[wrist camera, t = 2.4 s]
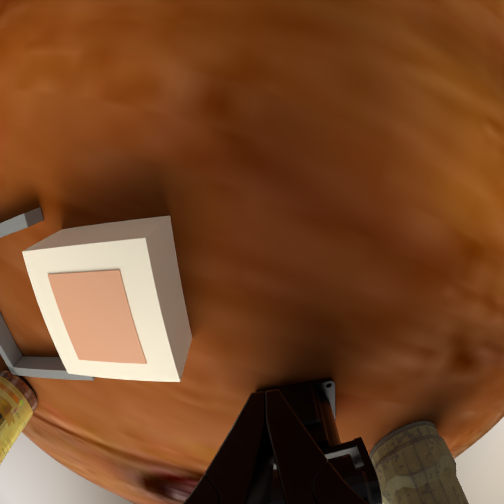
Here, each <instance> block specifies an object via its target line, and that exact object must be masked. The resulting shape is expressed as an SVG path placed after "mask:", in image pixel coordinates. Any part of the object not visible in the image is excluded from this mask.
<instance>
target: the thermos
mask: <svg viewBox="0 0 504 504" xmlns="http://www.w3.org/2000/svg"><path fill="white" fill-rule="evenodd" d="M370 459H371V461H372V464H373V466H374V469H375V471H376V474H377V477H378V480H379V484H380V489H381V495H382V502H383V503H384V504H469V503H468V501H467V499H466V497H465V494H464V492H463V490H462V488H461V485H460V483H459V481H458V479H457V477H456V463H455V461H454V459H453V457H452V455H451V453H450V451H449V449H448V447H447V445H446V443H445V441H444V439H443V438H442V437H440V436H439V434H438V432H437V430H436V427H435V425H434V424H433V423H432V422H431V421H418V422H414V423H411V424H408V425H405V426H403V427H401V428H399V429H397V430H395V431H393V432H391V433H390V434H388V435H387V436H385V437H383V438H382V439H381V440H380V441H379V442H378V443H377V444H375V446H374V447H373V449H372V450H371V452H370Z"/></svg>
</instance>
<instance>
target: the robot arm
mask: <svg viewBox="0 0 504 504" xmlns="http://www.w3.org/2000/svg"><path fill="white" fill-rule="evenodd" d="M329 383H330V384H329ZM183 504H382V495H381V489H380V484H379V480H378V477H377V474H376V471H375V469H374V466H373V464H372V461H371V459H370V457H369V454H368V452H367V450H366V447H365V445H364V443H363V440H362V438H361V437H359V438H356V439H354V440H353V441H349V442H345V443H342V444H341V442H340V438H339V434H338V430H337V427H336V423H335V383H334V380H333V379H332V378H326V379H321V380H316V381H311V382H305V383H300V384H294V385H288V386H282V387H275V388H269V389H261V390H258V391H256V392H254V393H251V395H250V396H249V398H248V400H247V402H246V404H245V405H244V407H243V409H242V411H241V412H240V414H239V416H238V418H237V419H236V421H235V423H234V425H233V426H232V428H231V430H230V432H229V433H228V435H227V437H226V438H225V440H224V442H223V444H222V445H221V447H220V449H219V450H218V452H217V454H216V455H215V457H214V459H213V460H212V462H211V463H210V465H209V467H208V468H207V470H206V472H205V474H204V475H203V476H202V478H201V479H200V481H199V482H198V484H197V485H196V487H195V488H194V490H193V491H192V493H191V494H190V496H189V497H188V498H187V499H186V500H185V502H184V503H183Z"/></svg>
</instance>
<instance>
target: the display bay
mask: <svg viewBox="0 0 504 504" xmlns="http://www.w3.org/2000/svg"><path fill="white" fill-rule="evenodd" d="M42 220H44V219H43V215H42V212H41V208H40V207H39V208H36V209H34V210H31V211H28V212H26V213H23V214H21V215H19V216H16V217H14V218H11V219H9V220H7V221H4V222H2V223H0V237H3V236H5V235H8V234H11V233H13V232H16V231H19V230H21V229H24V228H27V227H29V226H31V225H34V224H36V223H38V222H40V221H42ZM0 354H1V356H2V358H3V359H4V361H5V363H6V364H7V366H8V368H9V369H10V371H11V373H12V374H13V375H20V376H29V377H40V378H53V379H71V380H94V379H95V377H93V376H84V375H76V374H68V372H67V370H66V368H65V366H64V364H63V362H62V360H61V358H60V357H30V356H22V354H21V352H20V350H19V349H18V347H17V345H16V343H15V341H14V339H13V337H12V335H11V333H10V331H9V329H8V327H7V325H6V323H5V321H4V319H3V317H2V315H1V313H0Z"/></svg>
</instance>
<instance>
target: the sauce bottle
mask: <svg viewBox="0 0 504 504" xmlns="http://www.w3.org/2000/svg"><path fill="white" fill-rule="evenodd" d="M37 404H38V402H37V398H36V396H35V394H34V392H33V390H32V389H31V388H30V387H29V386H28V385H27V384H26V382H24V381H23V380H22V379H21V378H20V377H19V376H17V375H13V374H12V373H11V371H7V370H4V371H1V372H0V464H1V462H2V461H3V459H4V458H5V456H6V454H7V453H8V451H9V449H10V448H11V446H12V445H13V443H14V442H15V440H16V439H17V437H18V436H19V434H20V433H21V431H22V430H23V428H24V427H25V425H26V424H27V422H28V421H29V419H30V418H31V416H32V414H33V411H34V410H35V409H36V408H37Z"/></svg>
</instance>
